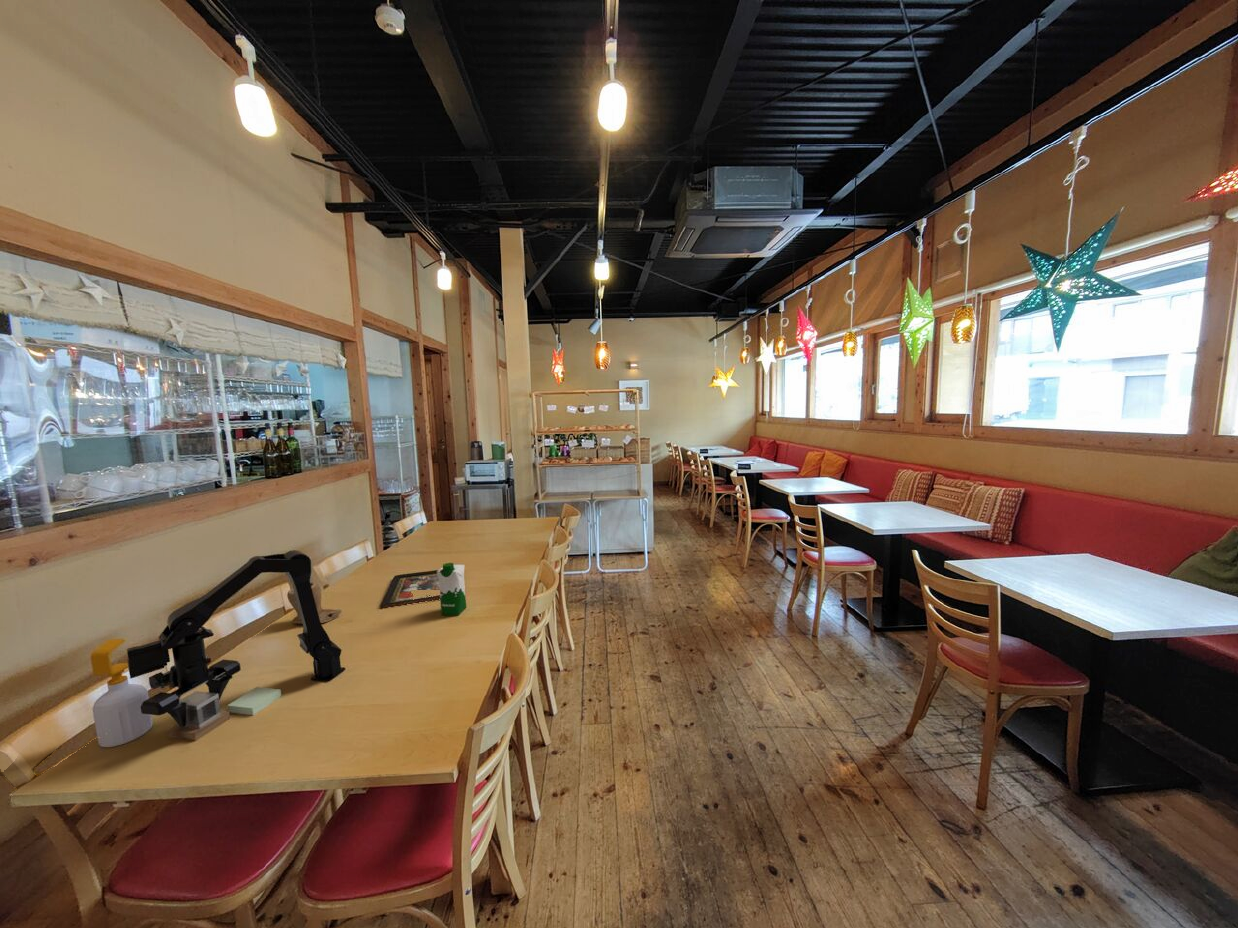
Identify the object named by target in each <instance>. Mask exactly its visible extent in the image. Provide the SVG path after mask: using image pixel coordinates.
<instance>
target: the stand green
mask: <svg viewBox="0 0 1238 928" xmlns="http://www.w3.org/2000/svg"><path fill="white" fill-rule="evenodd" d="M280 697H282V691H281V689H278V688H270V687H269V688H268V687H261V686H260V687H259V686H256V687H253V689H251V690H250V691H248V692H246V693H245V694H243V695H242V696H240V697H238V698H236V699H235V700H234V701H231V702H230V703H229V704H227V711H229V714H230V713H231V714H232V713H233V714H239V715H248V716H254V715H256V714H257V713H260V711H262V710H263V709H265V708H266V707H267V706H269V705H270V704H272V703H273V702H275V701H277V700H278V699H279V698H280Z"/></svg>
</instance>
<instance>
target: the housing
mask: <svg viewBox="0 0 1238 928" xmlns="http://www.w3.org/2000/svg"><path fill="white" fill-rule="evenodd" d="M180 700H181V702H183V703H186V726H185V727H190V728H198V729H200V728H202V727H203V726H205V725H207V724H208V723H210V722H211V721H213V720H214V719H216V718H217V717H219V716H221V711H222V710H221V704H220V700H219V696H218V693H210V692H209V691H207V692H206V691H197V690H196V691H193V692H192V693H190V694H188V695H187V696H185V697H183V698H180ZM176 725H177V726H179V724H178V723H177V722H176Z"/></svg>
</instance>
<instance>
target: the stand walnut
mask: <svg viewBox="0 0 1238 928" xmlns="http://www.w3.org/2000/svg"><path fill="white" fill-rule="evenodd" d="M230 717H231V716H230V712H229V711H228V710H227V711H226V710H221V716H219V717H217V718H216V719H214V720H213V721H211V722H210V723H208V724H207V725H205V726H203V727H202V728H200V729H198V728H190V727H180V726H177V724H175V726H173V727H171V728H169V729H168V733H169V735H168V736H169V738H174V739H179V740H180V739H181V740H187V741H195V742H196V741H197V740H200V739H201V738H202V737H204V736H206V735H208V734H209V733H210V732H212V731H213V730H214V729H216V728H218V727H219V726H221V725H223V724H224V723H226V722H227V721H228V720H230Z"/></svg>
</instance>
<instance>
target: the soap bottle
mask: <svg viewBox="0 0 1238 928" xmlns="http://www.w3.org/2000/svg"><path fill="white" fill-rule="evenodd" d="M124 642H126V639H125V638H112V639H108V640H106V641H105V642H104V643H102V644H101V645H100V646H98V647H97V648H96V649H94V650H93V652H92V653H91V655H90V663H91V666H92V667H91V668H92V673H93V675H95V676H101V675H102V676H105V675H106V676H107V677H111V679H109V680H108V681H107V684H106V685H107V691H106V692H105V693H103V694H102V695H100V696H99V697H98V698H97V699H96V700H95V702H94V704H93V705H92V708H91V709H92V715H93V716H92V717H93V719H94V725H95V731H96V737H97V742H98V745H99V746H100V747H101V748H114V747H117V746H121V745H124V744H127V743H130V742H132V741H134V740H136V739H138V738H140V737H142V736H143V735H145V734H146V733H147V732H149V730H150V729H151V728H153V727H152V726H153V718H152V716H153V715H150V714H142V713H141V704H142V703H143V702H144V701H145V700H147V699H149V698H150V697H149V693H148V689H147V688H146V686H144V685H143V684H136V683H129V679H128V676H127V675H123V673H124V672H125V670H126V669H129V668H128V662H124V663H122V662H121V663H116V664H113V665H112V661H111V655H112V653H113V652H114V651H115V650H116V649H117V648H118V647H120V646H121V645H122V644H124ZM106 733H107V734H106ZM98 737H100V738H98Z"/></svg>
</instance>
